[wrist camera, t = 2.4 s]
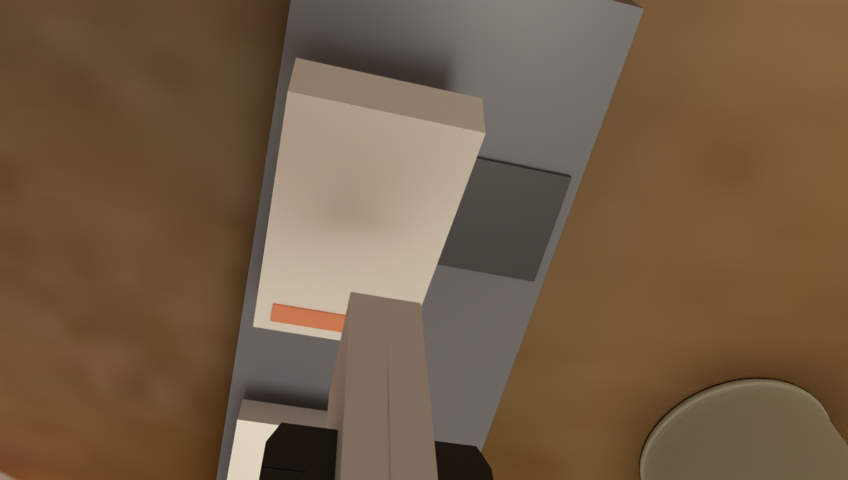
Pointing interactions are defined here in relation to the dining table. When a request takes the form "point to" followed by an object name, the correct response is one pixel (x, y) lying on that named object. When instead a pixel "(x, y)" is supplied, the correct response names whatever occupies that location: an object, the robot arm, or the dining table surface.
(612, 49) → the rocker switch panel
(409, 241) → the block
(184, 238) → the dining table surface
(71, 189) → the dining table surface
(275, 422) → the small box
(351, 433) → the robot arm
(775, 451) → the can
